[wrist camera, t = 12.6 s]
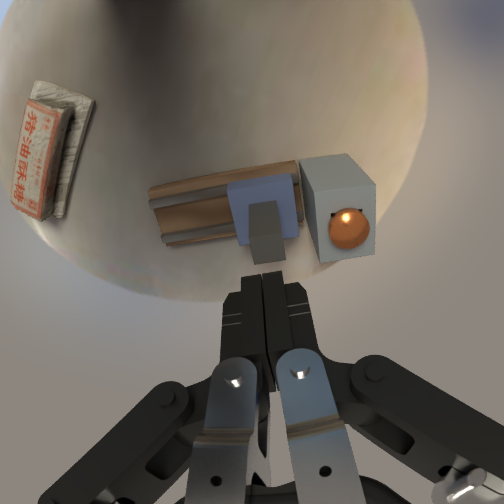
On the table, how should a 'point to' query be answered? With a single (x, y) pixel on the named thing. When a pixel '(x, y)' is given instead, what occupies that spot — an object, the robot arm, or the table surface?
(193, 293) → the table surface
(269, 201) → the carriage
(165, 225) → the rail bed
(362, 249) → the end cabinet
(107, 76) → the table surface
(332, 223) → the orange push button
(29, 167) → the packaged product
